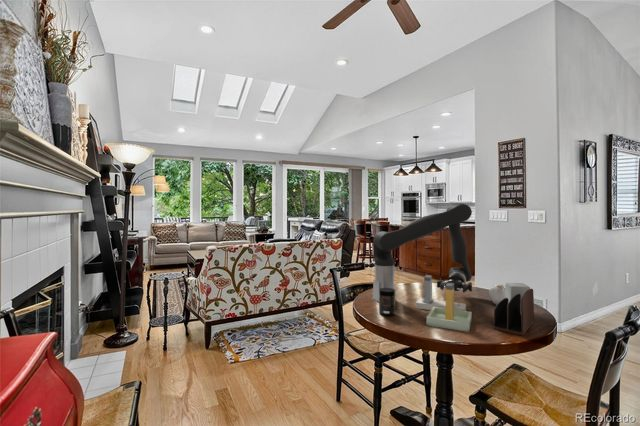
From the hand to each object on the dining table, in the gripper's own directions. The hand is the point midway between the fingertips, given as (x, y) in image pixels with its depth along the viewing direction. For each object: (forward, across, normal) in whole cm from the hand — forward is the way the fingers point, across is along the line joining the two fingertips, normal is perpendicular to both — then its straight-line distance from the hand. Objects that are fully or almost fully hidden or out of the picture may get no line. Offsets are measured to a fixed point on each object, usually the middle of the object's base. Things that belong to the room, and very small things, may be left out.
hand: (452, 288), depth 142 cm
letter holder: (+3, +22, +11) cm, 25 cm away
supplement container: (+13, -25, +11) cm, 30 cm away
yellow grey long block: (+11, 0, +10) cm, 15 cm away
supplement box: (-12, +24, +11) cm, 29 cm away
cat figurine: (-25, +18, +11) cm, 33 cm away
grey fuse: (-5, -11, +11) cm, 16 cm away
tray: (+11, 0, +11) cm, 15 cm away
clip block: (-5, -5, +11) cm, 13 cm away
